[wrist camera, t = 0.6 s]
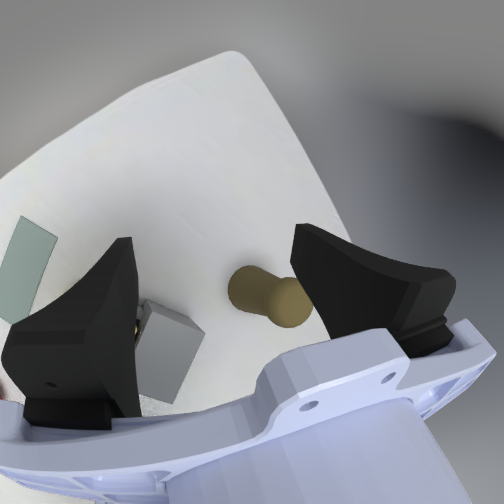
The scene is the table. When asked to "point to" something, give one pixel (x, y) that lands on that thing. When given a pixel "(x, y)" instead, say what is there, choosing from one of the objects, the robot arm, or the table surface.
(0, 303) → the mat
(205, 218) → the table surface
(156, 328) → the grey boxy piece
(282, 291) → the cork
